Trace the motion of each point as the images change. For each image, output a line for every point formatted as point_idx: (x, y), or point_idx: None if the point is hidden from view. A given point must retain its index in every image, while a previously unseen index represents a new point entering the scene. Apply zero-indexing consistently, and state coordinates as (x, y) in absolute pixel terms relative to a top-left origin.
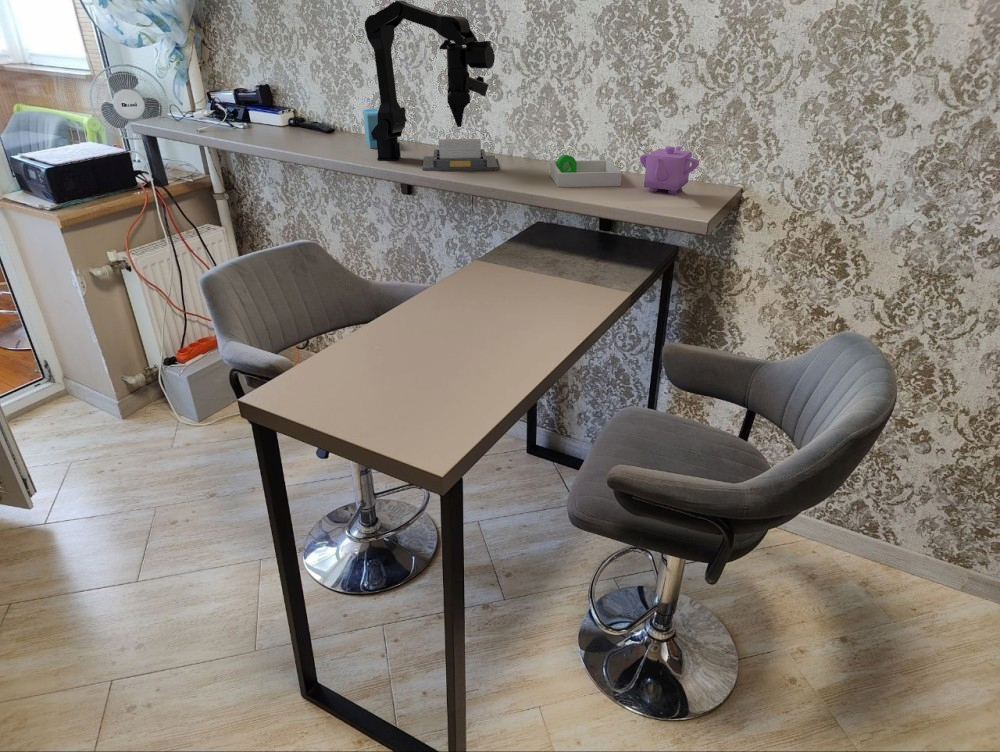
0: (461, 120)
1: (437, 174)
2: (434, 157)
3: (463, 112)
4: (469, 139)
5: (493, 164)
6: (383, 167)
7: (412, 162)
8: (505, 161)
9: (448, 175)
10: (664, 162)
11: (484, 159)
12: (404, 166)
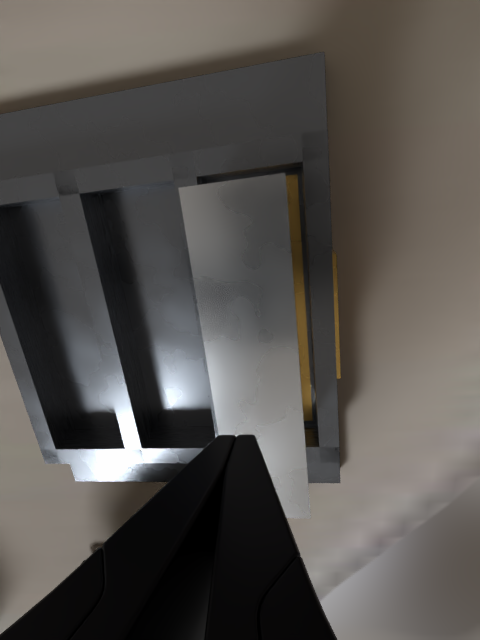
0: (274, 492)
1: (411, 408)
2: None
3: (327, 622)
4: (224, 292)
5: (244, 97)
6: None
7: None
8: (34, 36)
9: (444, 356)
10: None
11: (314, 150)
12: None
